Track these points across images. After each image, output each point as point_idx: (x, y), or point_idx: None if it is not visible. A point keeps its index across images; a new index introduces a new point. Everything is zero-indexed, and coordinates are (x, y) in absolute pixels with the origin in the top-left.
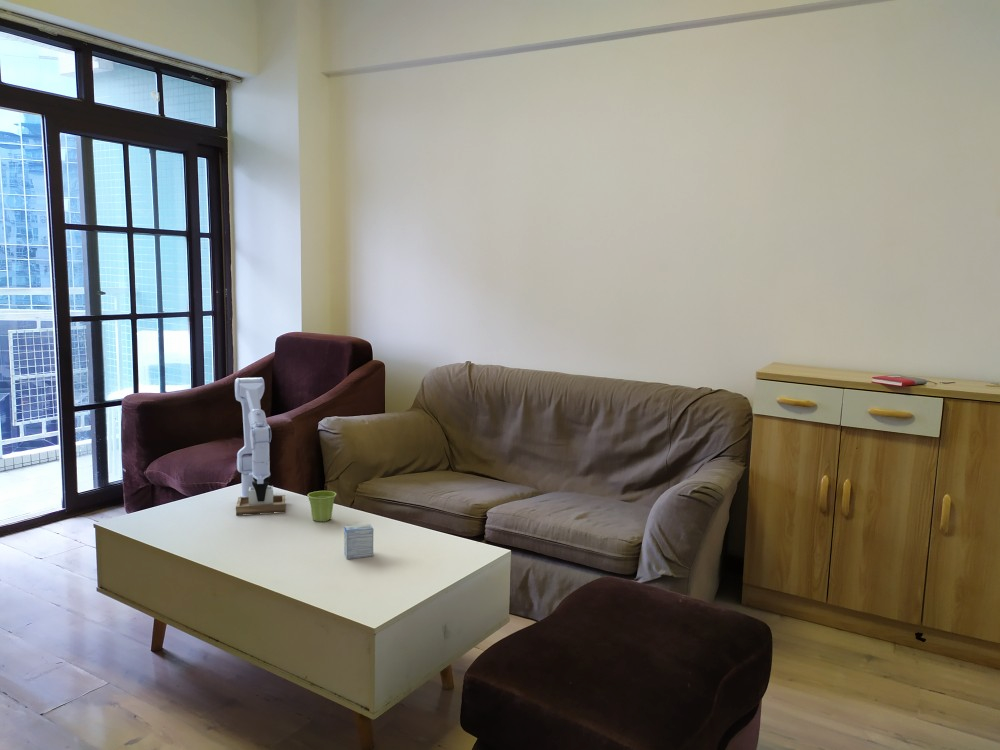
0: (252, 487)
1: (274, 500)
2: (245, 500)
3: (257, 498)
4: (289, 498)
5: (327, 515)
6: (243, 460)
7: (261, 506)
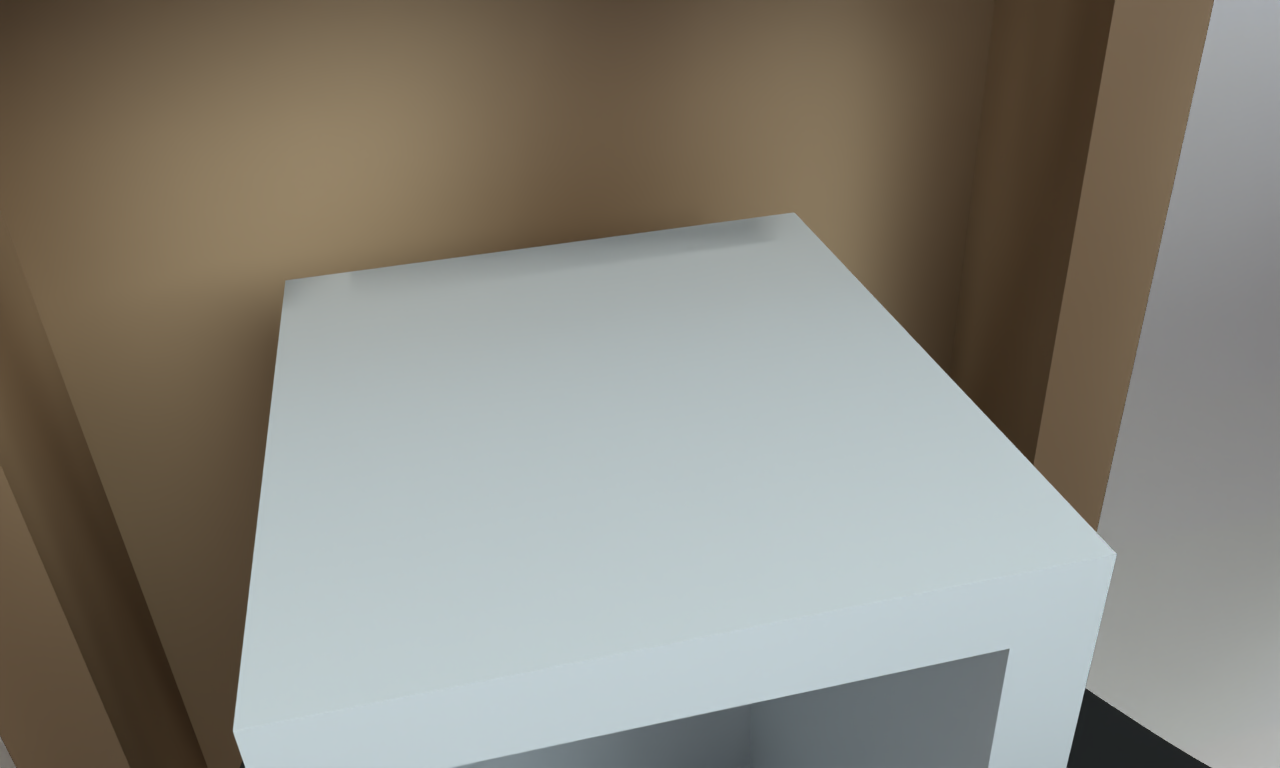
0: (997, 695)
1: None
2: (1039, 40)
3: None
4: None
5: None
6: None
7: (20, 736)
